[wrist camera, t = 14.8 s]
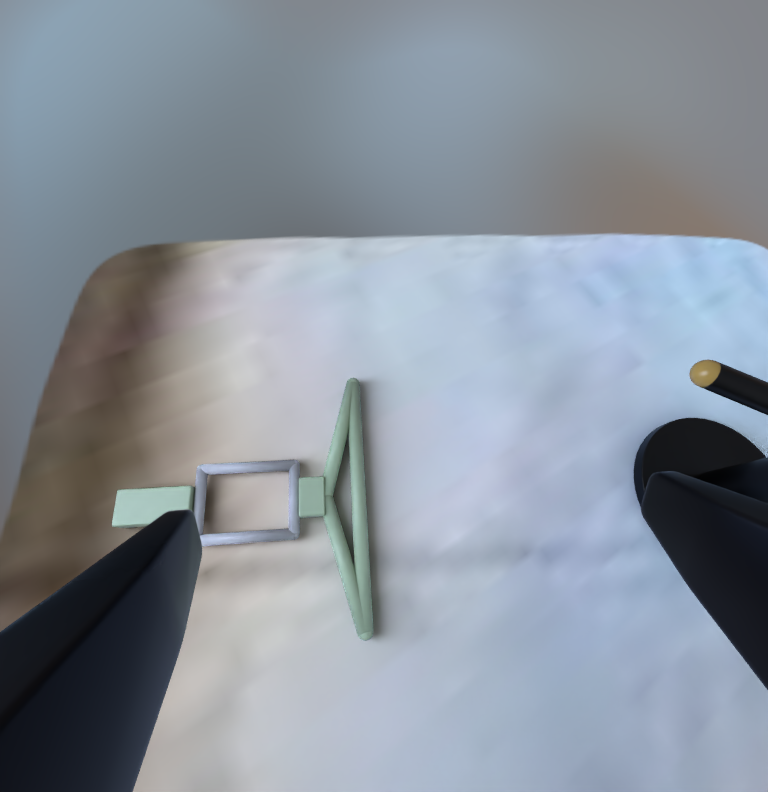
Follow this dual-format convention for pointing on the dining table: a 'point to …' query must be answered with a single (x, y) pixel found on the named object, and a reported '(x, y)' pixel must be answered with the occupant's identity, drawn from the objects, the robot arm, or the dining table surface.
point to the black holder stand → (710, 439)
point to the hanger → (304, 502)
